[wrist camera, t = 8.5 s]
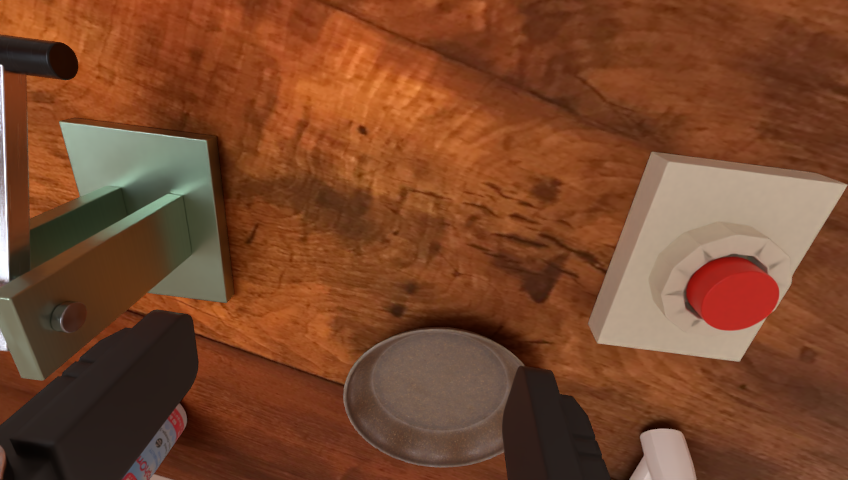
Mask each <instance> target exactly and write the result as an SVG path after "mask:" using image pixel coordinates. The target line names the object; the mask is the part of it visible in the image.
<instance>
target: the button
mask: <svg viewBox="0 0 848 480" xmlns="http://www.w3.org/2000/svg"><path fill="white" fill-rule="evenodd" d="M686 296H687V300H688V302H689V304H690V305H691V306H692V307H693V308H694V310H695V311H696V312H697V313H698V314H699V315H700V316H701V317H702V319H703V320H704V321H705V322H706V323H707V324H708V325H710V326H712V327H714V328H716V329H719V330H725V331H735V330H741V329H745V328H748V327H751V326H753V325H755V324H757V323H759V322H760V321H762V320H763V319H765V318H766V317H767V316H768V315H769V314H770V313H771V312H772V311H773V310H774V308H775V307H776V305H777V303H778V300H779V287H778V285H777V283H776V281H775V280H774V279H773V278H772V277H771V276H770V275H768V274H767V273H766V272H764V271H763V270H762V269H760V268H759V267H758V266H756V265H755V264H754V263H752V262H751V261H749V260H747V259H744V258H741V257H723V258H719V259H716V260H713V261H711V262H709V263H707V264H705V265H703V266H702V267H701V268H700V269H698V270H697V271H696V272H695V273H694V274H693V276H692V277H691V279H690V280H689V282H688V285H687V289H686Z"/></svg>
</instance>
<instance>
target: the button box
mask: <svg viewBox="0 0 848 480" xmlns="http://www.w3.org/2000/svg"><path fill="white" fill-rule="evenodd" d="M846 187H847V184H844V183H842V182H839V181H836V180H834V179H831V178H829V177H826V176H823V175H821V174H818V173H813V172H805V171H797V170H790V169H782V168H774V167H767V166H759V165H751V164H744V163H736V162H728V161H720V160H713V159H705V158H697V157H690V156H682V155H674V154H667V153H659V152H651V155H650V157H649V160H648V163H647V165H646V168H645V171H644V173H643V176H642V179H641V182H640V184H639V187H638V190H637V192H636V195H635V198H634V200H633V203H632V206H631V208H630V211H629V214H628V217H627V219H626V222H625V225H624V227H623V230H622V233H621V235H620V238H619V241H618V244H617V246H616V249H615V252H614V254H613V257H612V260H611V262H610V265H609V268H608V270H607V273H606V276H605V279H604V281H603V284H602V287H601V289H600V292H599V295H598V297H597V300H596V303H595V306H594V308H593V311H592V314H591V316H590V319H589V322H588V325H589V327H590V329H591V331H592V334H593V336H594V338H595V340H596V342H597V343H600V344H607V345H615V346H623V347H630V348H638V349H646V350H654V351H661V352H669V353H677V354H684V355H692V356H700V357H707V358H715V359H723V360H730V361H738V362H739V361H740V360H741V358H742V357H743V355H744V353H745V352H746V350H747V348H748V347H749V345H750V344H751V342H752V340H753V339H754V337H755V335H756V334H757V332H758V330H759V329H760V327H761V326H762V324H763V322H764V321H765V319H766V318H765V319H763V320H762V321H760V322H759V323H757V324H755V325H753V326H751V327H748V328H745V329H741V330H735V331H725V330H719V329H716V328H714V327H712V326H710V325H708V324H707V323H706V322H705V321H704V320H703V319H702V317H701V316H700V315H699V314H698V313H697V312H696V311H695V310H694V308H693V307H692V306H691V305H690V304H689V302H688V300H687V296H686V289H687V285H688V282H689V280H690V279H691V277H692V276H693V274H694V273H695V272H696V271H697V270H698V269H700V268H701V267H702V266H703V265H705V264H707V263H709V262H711V261H713V260H716V259H719V258H723V257H741V258H744V259H747V260H749V261H751V262H752V263H754V264H755V265H756V266H758V267H759V268H760V269H762V270H763V271H764V272H766V273H767V274H768V275H770V276H771V277H772V278H773V279H774V280H775V281H776V283H777V285H778V287H779V300H778V303H777V305H776V307H775V308H774V310H775V309H776V308H777V306H778V305H779V303H780V301H781V300H782V298H783V296H784V295H785V293H786V292H787V290H788V288H789V287H790V285H791V283H792V275H793V273H794V272H795V270H796V268H797V267H798V265H799V264H800V262H801V260H802V259H803V257H804V255H805V254H806V252H807V250H808V249H809V247H810V246H811V244H812V242H813V241H814V239H815V237H816V236H817V234H818V232H819V231H820V229H821V228H822V226H823V224H824V223H825V221H826V219H827V218H828V216H829V215H830V213H831V211H832V210H833V208H834V206H835V205H836V203H837V201H838V200H839V198H840V197H841V195H842V193H843V192H844V190H845V188H846ZM774 310H773V311H774ZM773 311H772V312H773Z"/></svg>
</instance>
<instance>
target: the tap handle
mask: <svg viewBox="0 0 848 480" xmlns="http://www.w3.org/2000/svg"><path fill="white" fill-rule="evenodd" d="M77 72H78V60H77V57H76V55H75V53H74V52H73V50H72V49H71V48H70V47H69V46H67V45H66V44H64V43H61V42H54V41H46V40H38V39H31V38H23V37H15V36H8V35H0V287H2V286H4V285H5V284H7V283H9V282H11V281H13V280H14V279H16V278H18V277H20V276H22V275H23V274H25V273H27V272H29V271H30V270H31V266H30V220H29V173H28V127H27V81H26V75H30V76H38V77H45V78H53V79H61V80H69V79H72V78H74V77H75V76H76V74H77ZM0 351H10V350H9V348H8V346H7V343H6V341H5V339H4V337H3V334H2V332H1V330H0Z"/></svg>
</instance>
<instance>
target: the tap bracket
mask: <svg viewBox="0 0 848 480" xmlns="http://www.w3.org/2000/svg"><path fill="white" fill-rule="evenodd" d="M59 123H60V127H61V130H62V134H63V138H64V141H65V145H66V148H67V152H68V155H69V159H70V163H71V166H72V170H73V173H74V177H75V180H76V184H77V187H78V191H79V195H80V197H79V198H77V199H74V200H72V201H70V202H67V203H65V204H63V205H61V206H58V207H56V208H54V209H51V210H49V211H47V212H44V213H42V214H40V215H38V216H35V217H33V218H31V219H29V220H30V266H31V270H30V271H29V272H27V273H25V274H23V275H22V276H20V277H18V278H16V279H14V280H13V281H11V282H9V283H7V284H5V285H4V286H2V287H0V330H1V332H2V334H3V337H4V339H5V341H6V343H7V346H8V348H9V350H10V353H11V355H12V357H13V359H14V362H15V364H16V366H17V368H18V371H19V373H20V375H21V377H22V378H27V379H35V380H45V379H46V378H47V377H48V376H49V375H51V374H52V373H53V372H54V371H55V370H56V369H58V368H59V367H60V366H61V365H62V364H64V363H65V362H66V361H67V360H68V359H69V358H71V357H72V356H73V355H74V354H75V353H77V352H78V351H79V350H80V349H81V348H82V347H84V346H85V345H86V344H87V343H88V342H90V341H91V340H92V339H93V338H94V337H95V336H97V335H98V334H99V333H100V332H101V331H103V330H104V329H105V328H106V327H107V326H108V325H110V324H111V323H112V322H113V321H114V320H116V319H117V318H118V317H119V316H120V315H121V314H123V313H124V312H125V311H126V310H127V309H129V308H130V307H131V306H132V305H133V304H134V303H136V302H137V301H138V300H139V299H140V298H141V297H143V296H144V295H145V294H146V293H154V294H161V295H169V296H177V297H184V298H192V299H200V300H207V301H215V302H223V303H227V302H228V301H229V300H230V299H231V297H232V296H233V295H234V287H233V278H232V269H231V261H230V252H229V243H228V234H227V225H226V216H225V207H224V198H223V189H222V180H221V171H220V162H219V153H218V145H217V137H216V136H212V135H204V134H196V133H189V132H181V131H173V130H165V129H158V128H150V127H142V126H135V125H127V124H119V123H112V122H104V121H96V120H89V119H81V118H71V119H67V120H62V121H59Z"/></svg>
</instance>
